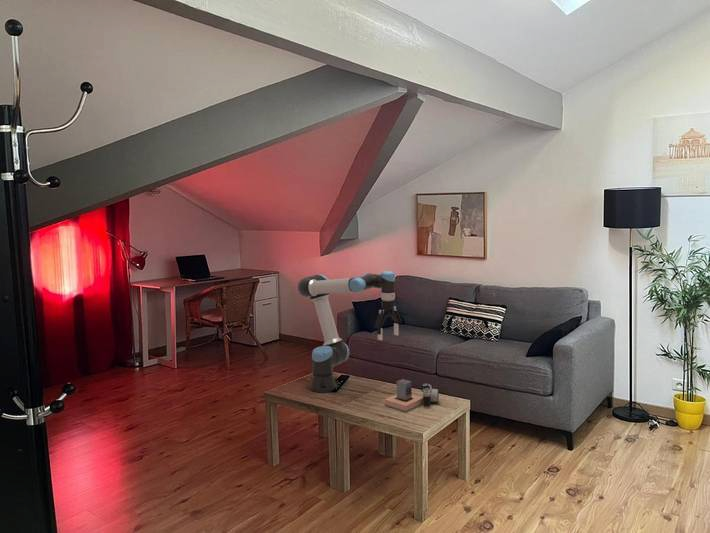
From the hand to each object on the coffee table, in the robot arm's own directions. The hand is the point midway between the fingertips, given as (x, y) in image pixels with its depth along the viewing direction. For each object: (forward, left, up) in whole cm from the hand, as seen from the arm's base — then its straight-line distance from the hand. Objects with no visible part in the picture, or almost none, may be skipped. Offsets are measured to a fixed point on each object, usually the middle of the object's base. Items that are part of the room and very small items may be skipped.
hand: (388, 337), depth 320 cm
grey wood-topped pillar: (+18, -10, -31) cm, 37 cm away
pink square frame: (+18, -10, -31) cm, 38 cm away
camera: (+27, +2, -32) cm, 42 cm away
